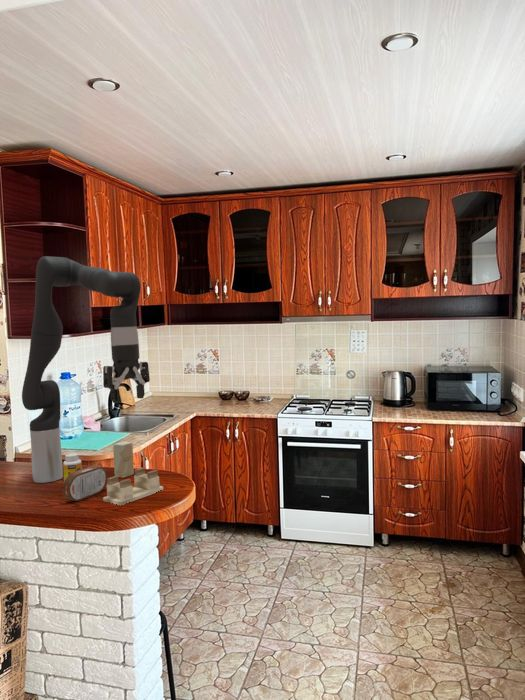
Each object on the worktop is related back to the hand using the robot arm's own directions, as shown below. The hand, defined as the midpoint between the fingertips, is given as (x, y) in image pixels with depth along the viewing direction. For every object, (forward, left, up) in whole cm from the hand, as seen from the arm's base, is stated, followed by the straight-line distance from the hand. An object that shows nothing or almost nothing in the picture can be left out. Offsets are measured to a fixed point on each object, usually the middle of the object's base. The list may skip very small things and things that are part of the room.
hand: (128, 400), depth 150 cm
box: (-25, +16, -30) cm, 42 cm away
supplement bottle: (-30, 0, -30) cm, 42 cm away
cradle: (-5, +4, -29) cm, 30 cm away
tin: (-17, -4, -30) cm, 34 cm away
